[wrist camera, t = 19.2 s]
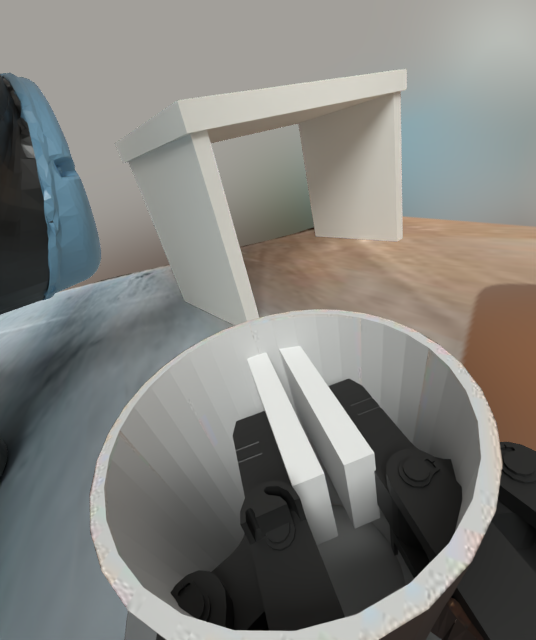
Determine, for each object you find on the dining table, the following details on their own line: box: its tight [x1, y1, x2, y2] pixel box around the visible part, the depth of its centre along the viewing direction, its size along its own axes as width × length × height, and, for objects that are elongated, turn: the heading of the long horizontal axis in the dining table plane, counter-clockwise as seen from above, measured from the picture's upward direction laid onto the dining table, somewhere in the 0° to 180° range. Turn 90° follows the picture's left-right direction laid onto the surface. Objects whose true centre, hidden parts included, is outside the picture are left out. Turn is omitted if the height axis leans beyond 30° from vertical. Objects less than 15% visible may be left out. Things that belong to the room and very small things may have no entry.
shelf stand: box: [115, 69, 407, 325], centre depth 39 cm, size 17×30×20 cm, turn 130°
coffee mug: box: [90, 309, 503, 640], centre depth 8 cm, size 12×9×10 cm
